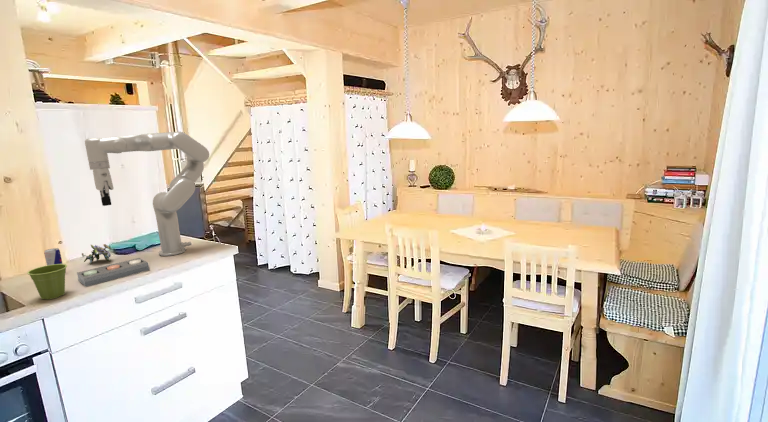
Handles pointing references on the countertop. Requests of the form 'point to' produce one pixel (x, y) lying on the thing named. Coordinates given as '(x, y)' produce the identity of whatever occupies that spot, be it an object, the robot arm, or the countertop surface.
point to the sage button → (90, 272)
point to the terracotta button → (113, 267)
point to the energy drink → (53, 256)
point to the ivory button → (134, 262)
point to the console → (112, 272)
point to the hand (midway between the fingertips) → (107, 205)
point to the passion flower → (98, 253)
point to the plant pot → (49, 280)
